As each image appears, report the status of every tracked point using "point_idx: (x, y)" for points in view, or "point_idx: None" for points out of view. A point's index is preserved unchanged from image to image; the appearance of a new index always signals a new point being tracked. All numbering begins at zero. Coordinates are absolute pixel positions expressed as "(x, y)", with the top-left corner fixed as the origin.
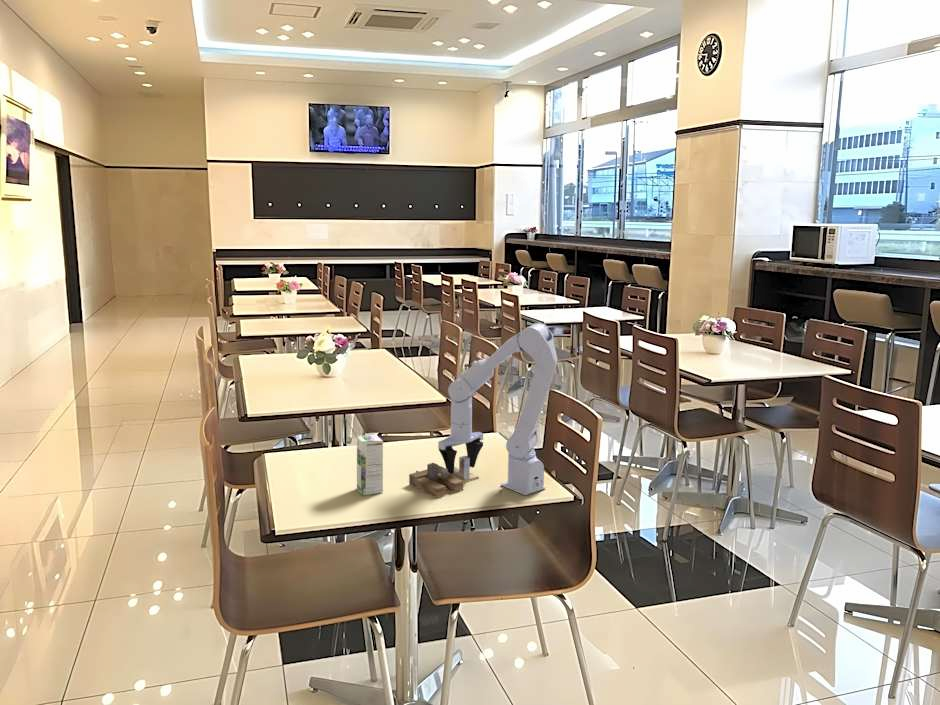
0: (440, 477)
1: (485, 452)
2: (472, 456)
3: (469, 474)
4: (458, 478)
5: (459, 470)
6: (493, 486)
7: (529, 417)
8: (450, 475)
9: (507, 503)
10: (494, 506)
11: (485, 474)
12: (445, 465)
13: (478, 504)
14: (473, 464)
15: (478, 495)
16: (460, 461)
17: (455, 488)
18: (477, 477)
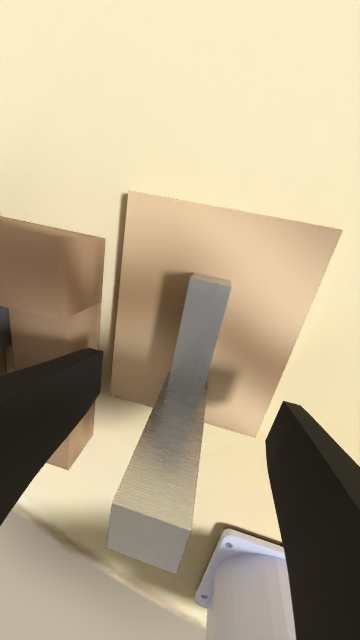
0: (14, 360)
1: None
2: (298, 531)
3: (254, 387)
4: (161, 372)
5: (156, 402)
6: (204, 505)
7: None
8: (169, 311)
9: (113, 564)
10: (72, 544)
11: (332, 433)
12: (50, 360)
13: (48, 510)
14: (268, 469)
15: (97, 491)
16: (128, 472)
17: None
18: (245, 432)
